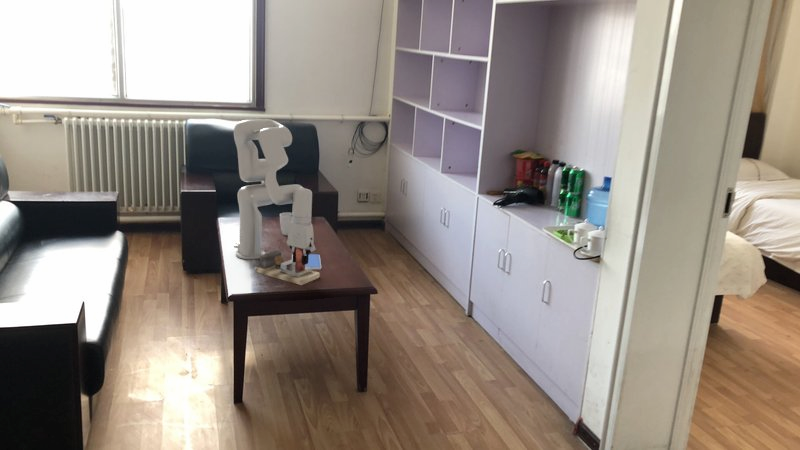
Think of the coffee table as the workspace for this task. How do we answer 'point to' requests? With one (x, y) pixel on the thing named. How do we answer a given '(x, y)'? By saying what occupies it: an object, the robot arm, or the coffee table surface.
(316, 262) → the tablet computer
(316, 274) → the base
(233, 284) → the coffee table surface
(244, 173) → the robot arm
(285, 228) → the cup
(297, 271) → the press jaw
